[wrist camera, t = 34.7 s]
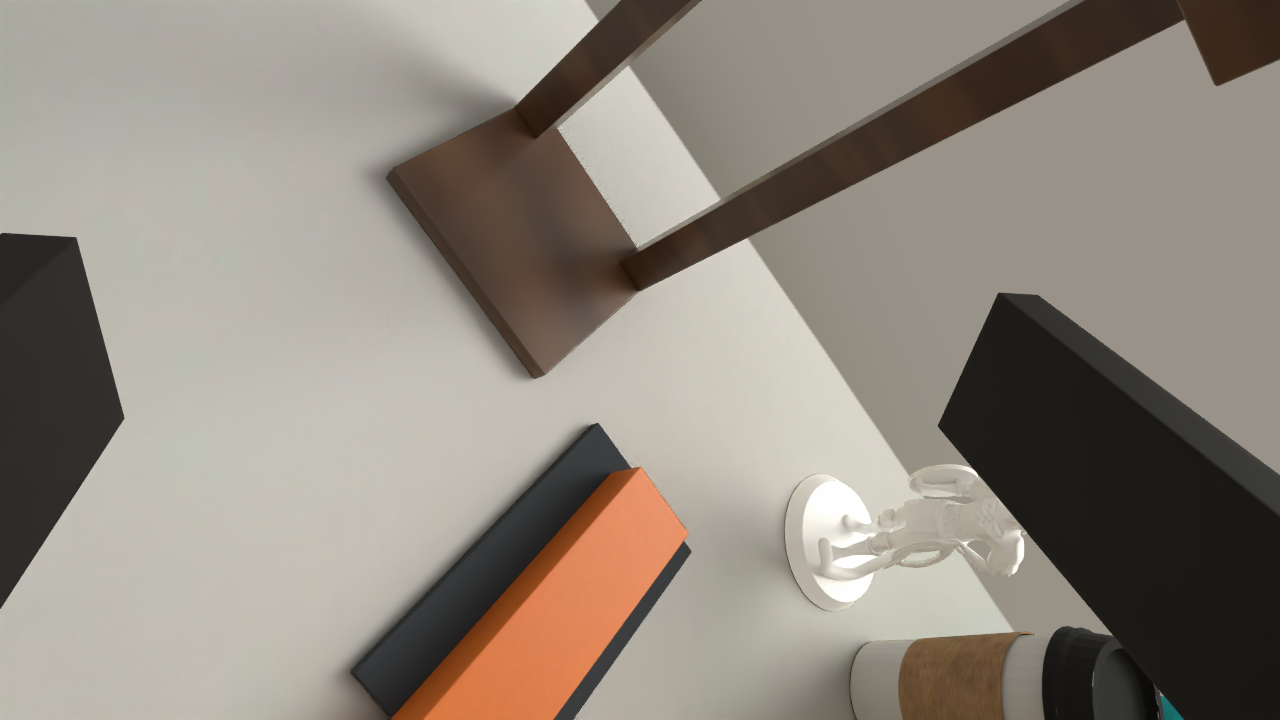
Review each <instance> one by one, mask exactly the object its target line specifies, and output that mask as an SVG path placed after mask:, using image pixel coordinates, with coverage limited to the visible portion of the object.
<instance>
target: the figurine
mask: <svg viewBox="0 0 1280 720" xmlns="http://www.w3.org/2000/svg"><path fill="white" fill-rule="evenodd" d="M909 487H910V489H911V490H912V491H914V492H916V493H918V494H920V495H925V496H931V497H946V496H954V495H956V496H957V497H963V496H968V497H971V498H973V500H974V502H972V503H969V504H959V503H957V502H954V501H949V500H936V499H935V500H934V499H917V500H910V501H907V502H905V503H904V505H903V506H902V507H901V508H899V509H898V510H897V511H895V510H894V509H889V510H885V511H883V512H882V513H881V514H880V515H879V516H878V518H877V519H876V520H875V521H873V522H871V519H870V516H869V514H868V512H867V509H866V507H865V506H864V504H863V502H862V501H861V499H860V498H859V497H858V495H857V494H856V493H855V492H854V491H853V490H852V489H851V488H850V487H848V486H847V485H845V484H843V483H842V482H840V481H838V480H837V479H835V478H833V477H831V476H828V475H824V474H816V475H812V476H810V477H807V478H806V479H805V480H803V481H802V482H801V483H800V484H799V485H798V487H797V488H796V489H795V491H794V493H793V495H792V497H791V499H790V501H789V505H788V509H787V512H786V520H785V543H786V550H787V556H788V560H789V563H790V567H791V570H792V572H793V574H794V577H795V579H796V581H797V583H798V585H799V586H800V588H801V590H802V591H803V593H804V594H805V595H806V596H807V597H808V598H809V600H810V601H811V602H813V603H814V604H815V605H817V606H818V607H819V608H822V609H824V610H827V611H834V612H837V611H841V610H845V609H846V608H848V607H850V606H851V605H852V604H853V603H855V602H856V601H857V600H858V599H859V598H860V597H861V596H862V595H863V594H864V592H865V591H866V590H867V588H868V586H869V585H870V583H871V580H872V577H873V574H874V572H875V571H877V570H878V569H880V568H882V567H883V569H886V568H889V567H891V566H893V565H895V564H896V565H899V566H903V567H913V568H919V567H926V566H929V565H932V564H935V563H938V562H940V561H942V560H944V559H945V558H947V557H948V556H949V555H950V554H951V553H952V552H953V550H954V548H956V550H957V551H958V552H959V553H960V554H962V555H963V556H964V557H966V558H968V559H969V560H970V562H971V563H972V564H973V565H974V566H975V567H976V568H977V569H978V570H980V571H981V572H983V573H985V574H987V575H991V576H998V575H1000V574H1001V573H1003V576H1005V577H1009V576H1010V575H1012V574H1014V573H1015V572H1016V571H1017V569H1018V566H1019V563H1020V562H1021V561H1022V560H1023V557H1024V540H1023V538H1022V537H1021V536H1020V533H1021V531H1022V532H1024V533H1023V534H1022V535H1026V534H1028V533H1027V532H1026V531H1025V530H1024V529H1023V527H1022V526H1021V525H1020V524H1019V523H1018V521H1017V520H1016V519H1015V518H1014V517H1013V515H1012V514H1011V513H1010V512H1009V511H1008V509H1007V508H1006V507H1005V506H1004V505H1003V504H1002V502H1001V501H1000V500H999V499H998V498H997V496H996V495H995V494H994V493H993V492H992V490H991V489H990V488H989V487H988V486H987V484H986V483H985V482H984V481H983V480H982V479H981V478H978V476H977V473H976V472H975V471H974V470H973V469H971V468H968V467H966V466H962V465H954V464H942V465H934V466H929V467H926V468H923V469H920V470H918V471H916V472H914V473H913V474H912V475H911V476H910V478H909ZM899 525H901V526H906V527H905V528H903V529H900V530H897V531H895V532H892V531H893V530H894V528H895V527H897V526H899ZM880 532H882V533H880ZM889 532H892V533H889ZM875 533H879V534H877V535H876V536H875V535H874V534H875ZM972 540H980V541H983V542H985V543H986V544H988V545H989V546H990V547H991V551H990V553H989V556H988V558H987V562H986V561H985V560H984V559H983V558H982V557H980V556H979V555H978V554H977V553H976V552H974V551H973V550H972V549H970V548H969V547H968V546H966V545H967V544H968V542H969V541H972ZM892 548H894V549H892ZM890 549H892V550H890ZM883 550H890V551H888V552H886V553H883ZM938 550H939V551H940V552H939V553H938V554H937V555H936V556H935V557H933V558H930V559H927V560H924V561H905V560H903V559H904V558H906V557H907V556H908V555H910V554H912V553H921V552H930V551H938ZM882 553H883V554H882ZM876 556H877V557H876Z"/></svg>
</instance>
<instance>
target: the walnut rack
mask: <svg viewBox="0 0 1280 720" xmlns="http://www.w3.org/2000/svg"><path fill="white" fill-rule="evenodd" d="M700 1H702V0H621V1H620V2H619V3H618V4H617V5H616V6H615V7H614V8H613V9H612V10H611V11H610V12H609V13H608V14H607V15H606V16H605V17H604V18H603V19H602V20H601V21H600V22H599V23H598V24H597V25H596V26H595V27H594V28H593V29H592V30H591V31H590V32H589V33H588V34H587V35H586V36H585V37H584V38H583V39H582V40H581V41H580V42H579V43H578V44H577V45H576V46H575V47H574V48H573V49H572V50H571V51H570V52H569V53H568V54H567V55H566V56H565V57H564V58H563V59H562V60H561V61H560V62H559V63H558V64H557V65H556V66H555V67H554V68H553V69H552V70H551V71H550V72H549V73H548V74H547V75H546V76H545V77H544V78H543V79H542V80H541V81H540V82H539V83H538V84H537V85H536V86H535V87H534V88H533V89H532V90H531V91H530V92H529V93H528V94H527V95H526V96H525V97H524V98H523V99H522V100H521V101H520V102H519V103H518V104H517V105H516V106H515V107H514V108H512V109H510V110H508V111H506V112H504V113H502V114H500V115H498V116H496V117H494V118H492V119H490V120H488V121H486V122H484V123H482V124H480V125H478V126H476V127H474V128H472V129H470V130H468V131H466V132H464V133H462V134H460V135H458V136H456V137H454V138H452V139H450V140H448V141H446V142H444V143H442V144H440V145H438V146H436V147H434V148H432V149H430V150H428V151H426V152H424V153H422V154H420V155H418V156H416V157H414V158H412V159H410V160H408V161H406V162H404V163H402V164H399V165H397V166H395V167H393V168H392V170H391V171H390V172H389V173H388V174H387V176H386V178H387V179H388V181H389V182H390V183H391V185H392V186H393V188H394V189H395V190H396V192H397V193H398V194H399V196H400V197H401V198H402V200H403V201H404V202H405V204H406V205H407V207H408V208H409V209H410V211H411V212H412V213H413V215H414V216H415V217H416V219H417V220H418V221H419V223H420V224H421V226H422V227H423V228H424V230H425V231H426V232H427V234H428V235H429V236H430V238H431V239H432V240H433V242H434V243H435V245H436V246H437V247H438V249H439V250H440V251H441V253H442V254H443V255H444V257H445V258H446V259H447V261H448V262H449V264H450V265H451V266H452V268H453V269H454V270H455V272H456V273H457V274H458V276H459V277H460V278H461V280H462V281H463V282H464V284H465V285H466V287H467V288H468V289H469V291H470V292H471V293H472V295H473V296H474V297H475V299H476V300H477V301H478V303H479V304H480V306H481V307H482V308H483V310H484V311H485V312H486V314H487V315H488V316H489V318H490V319H491V320H492V322H493V323H494V325H495V326H496V327H497V329H498V330H499V331H500V333H501V334H502V335H503V337H504V338H505V339H506V341H507V342H508V344H509V345H510V346H511V348H512V349H513V350H514V352H515V353H516V354H517V356H518V357H519V358H520V360H521V361H522V363H523V364H524V365H525V367H526V368H527V369H528V371H529V372H530V373H531V375H532V376H533V377H534V378H535V379H537V378H539V377H541V376H544V375H545V374H547V373H548V372H549V371H550V370H551V369H552V368H553V367H554V366H556V365H557V364H558V363H559V362H560V361H561V360H562V359H563V358H565V357H566V356H567V355H568V354H569V353H570V352H571V351H573V350H574V349H575V348H576V347H577V346H578V345H579V344H580V343H582V342H583V341H584V340H585V339H586V338H587V337H588V336H589V335H591V334H592V333H593V332H594V331H595V330H596V329H597V328H598V327H600V326H601V325H602V324H603V323H604V322H605V321H606V320H608V319H609V318H610V317H611V316H612V315H613V314H614V313H615V312H617V311H618V310H619V309H620V308H621V307H622V306H623V305H624V304H626V303H627V302H628V301H629V300H630V299H631V298H632V297H633V296H635V295H636V294H637V293H638V292H639V291H642V290H644V289H646V288H648V287H650V286H652V285H654V284H656V283H658V282H660V281H662V280H664V279H666V278H668V277H670V276H672V275H674V274H676V273H678V272H680V271H682V270H684V269H686V268H688V267H690V266H692V265H694V264H696V263H698V262H700V261H702V260H704V259H706V258H708V257H710V256H712V255H714V254H716V253H718V252H720V251H722V250H724V249H726V248H728V247H730V246H732V245H734V244H736V243H738V242H740V241H742V240H744V239H746V238H748V237H750V236H752V235H754V234H756V233H758V232H760V231H762V230H764V229H766V228H768V227H770V226H772V225H774V224H775V223H778V222H780V221H782V220H784V219H786V218H788V217H790V216H792V215H794V214H796V213H798V212H800V211H802V210H804V209H806V208H808V207H810V206H812V205H814V204H816V203H818V202H820V201H822V200H824V199H826V198H828V197H830V196H832V195H834V194H836V193H838V192H840V191H842V190H844V189H846V188H848V187H850V186H852V185H854V184H856V183H858V182H860V181H862V180H864V179H866V178H868V177H870V176H872V175H874V174H876V173H878V172H880V171H882V170H884V169H886V168H888V167H890V166H892V165H894V164H896V163H898V162H900V161H902V160H904V159H906V158H908V157H910V156H912V155H914V154H916V153H918V152H920V151H922V150H924V149H926V148H928V147H930V146H932V145H934V144H936V143H938V142H940V141H942V140H944V139H946V138H948V137H950V136H952V135H954V134H956V133H958V132H960V131H962V130H964V129H966V128H968V127H970V126H972V125H974V124H976V123H978V122H981V121H982V120H985V119H986V118H988V117H991V116H993V115H994V114H996V113H999V112H1000V111H1003V110H1004V109H1007V108H1009V107H1010V106H1013V105H1014V104H1017V103H1019V102H1020V101H1023V100H1025V99H1027V98H1029V97H1031V96H1033V95H1035V94H1037V93H1038V92H1041V91H1043V90H1045V89H1046V88H1049V87H1051V86H1053V85H1055V84H1057V83H1059V82H1060V81H1063V80H1065V79H1066V78H1069V77H1071V76H1073V75H1075V74H1077V73H1079V72H1081V71H1083V70H1085V69H1087V68H1089V67H1091V66H1093V65H1095V64H1097V63H1099V62H1101V61H1103V60H1105V59H1107V58H1109V57H1111V56H1113V55H1115V54H1117V53H1119V52H1121V51H1123V50H1125V49H1127V48H1129V47H1131V46H1133V45H1135V44H1137V43H1139V42H1141V41H1143V40H1145V39H1147V38H1149V37H1151V36H1153V35H1155V34H1157V33H1159V32H1161V31H1163V30H1165V29H1167V28H1169V27H1171V26H1173V25H1175V24H1177V23H1179V22H1181V21H1183V20H1185V21H1186V23H1187V25H1188V27H1189V30H1190V32H1191V34H1192V36H1193V38H1194V41H1195V43H1196V45H1197V47H1198V49H1199V52H1200V54H1201V56H1202V58H1203V61H1204V63H1205V65H1206V67H1207V70H1208V72H1209V74H1210V76H1211V78H1212V81H1213V83H1214V85H1216V86H1219V85H1222V84H1224V83H1227V82H1229V81H1231V80H1234V79H1236V78H1238V77H1241V76H1243V75H1245V74H1248V73H1250V72H1252V71H1255V70H1257V69H1259V68H1262V67H1264V66H1266V65H1269V64H1271V63H1273V62H1275V61H1278V60H1280V0H1070V1H1068V2H1066V3H1065V4H1063V5H1061V6H1060V7H1058V8H1056V9H1054V10H1052V11H1051V12H1049V13H1047V14H1046V15H1044V16H1042V17H1040V18H1038V19H1037V20H1035V21H1033V22H1031V23H1030V24H1028V25H1026V26H1024V27H1023V28H1021V29H1019V30H1017V31H1016V32H1014V33H1012V34H1010V35H1009V36H1007V37H1005V38H1003V39H1002V40H1000V41H998V42H997V43H995V44H993V45H991V46H989V47H988V48H986V49H985V50H982V51H981V52H979V53H977V54H976V55H974V56H972V57H970V58H968V59H967V60H965V61H963V62H961V63H960V64H958V65H956V66H954V67H953V68H951V69H949V70H947V71H946V72H944V73H942V74H940V75H939V76H937V77H935V78H933V79H932V80H930V81H928V82H926V83H925V84H923V85H921V86H919V87H918V88H916V89H914V90H912V91H911V92H909V93H908V94H906V95H904V96H902V97H900V98H899V99H897V100H895V101H893V102H892V103H890V104H888V105H887V106H885V107H883V108H881V109H879V110H877V111H876V112H874V113H872V114H870V115H869V116H867V117H865V118H863V119H862V120H860V121H859V122H857V123H855V124H853V125H851V126H850V127H848V128H846V129H845V130H843V131H841V132H839V133H837V134H836V135H834V136H832V137H830V138H829V139H827V140H825V141H823V142H822V143H820V144H818V145H816V146H814V147H813V148H811V149H810V150H808V151H806V152H804V153H802V154H801V155H799V156H797V157H795V158H794V159H792V160H790V161H788V162H787V163H785V164H783V165H781V166H780V167H778V168H776V169H774V170H773V171H771V172H769V173H767V174H766V175H764V176H762V177H760V178H759V179H757V180H755V181H753V182H752V183H750V184H748V185H746V186H745V187H743V188H741V189H739V190H738V191H736V192H734V193H732V194H731V195H729V196H727V197H726V198H724V199H722V200H720V201H718V202H717V203H715V204H713V205H711V206H710V207H708V208H706V209H704V210H703V211H701V212H699V213H697V214H696V215H694V216H692V217H690V218H689V219H687V220H685V221H683V222H682V223H680V224H678V225H676V226H675V227H673V228H671V229H669V230H668V231H666V232H664V233H662V234H661V235H659V236H657V237H655V238H654V239H652V240H650V241H648V242H647V243H645V244H643V245H641V246H640V247H638V248H637V247H636V246H635V244H634V243H633V241H632V240H631V238H630V237H629V235H628V234H627V232H626V231H625V229H624V228H623V226H622V225H621V223H620V222H619V220H618V219H617V217H616V216H615V214H614V213H613V211H612V210H611V208H610V207H609V205H608V204H607V202H606V201H605V199H604V198H603V196H602V195H601V194H600V192H599V191H598V189H597V188H596V186H595V185H594V183H593V182H592V180H591V179H590V177H589V176H588V174H587V173H586V171H585V170H584V168H583V167H582V165H581V164H580V162H579V161H578V159H577V158H576V156H575V155H574V153H573V152H572V150H571V149H570V147H569V146H568V144H567V143H566V141H565V140H564V138H563V137H562V135H561V134H560V132H559V131H558V129H557V127H559V126H560V125H561V124H562V123H563V122H564V121H566V120H567V119H568V118H569V117H570V116H571V115H572V114H574V113H575V112H576V111H577V110H578V109H579V108H580V107H581V106H583V105H584V104H585V103H586V102H587V101H588V100H589V99H591V98H592V97H593V96H594V95H595V94H596V93H597V92H598V91H600V90H601V89H602V88H603V87H604V86H605V85H606V84H608V83H609V82H610V81H611V80H612V79H613V78H614V77H615V76H617V75H618V74H619V73H620V72H621V71H622V70H623V69H625V68H626V67H627V66H628V65H629V64H630V63H631V62H632V61H634V60H635V59H636V58H637V57H638V56H639V55H640V54H642V53H643V52H644V51H645V50H646V49H647V48H648V47H649V46H651V45H652V44H653V43H654V42H655V41H656V40H657V39H659V38H660V37H661V36H662V35H663V34H664V33H665V32H666V31H668V30H669V29H670V28H671V27H672V26H673V25H674V24H675V23H677V22H678V21H679V20H680V19H681V18H682V17H683V16H684V15H686V14H687V13H688V12H689V11H690V10H691V9H693V7H695V6H696V5H697V4H698V3H699V2H700Z"/></svg>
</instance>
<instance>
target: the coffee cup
mask: <svg viewBox="0 0 1280 720" xmlns="http://www.w3.org/2000/svg"><path fill="white" fill-rule="evenodd" d="M850 691H851V700H852V705H853V709H854V712H855V715H856V718H857V720H1164V712H1163V706H1162V701H1161V696H1160V692H1159V689H1158V688H1157V687H1156V686H1155V685H1154V683H1153V682H1152V681H1151V680H1150V679H1149V677H1148V676H1147V675H1146V674H1145V673H1144V671H1143V670H1142V669H1141V668H1140V667H1139V666H1138V664H1137V663H1136V662H1135V661H1134V660H1133V658H1132V657H1131V656H1130V655H1129V654H1128V652H1127V651H1126V650H1125V649H1124V648H1123V646H1122V645H1121V644H1120V643H1119V642H1118V641H1117V639H1116V638H1115V637H1114V636H1110V635H1103V634H1096V633H1093V632H1091V631H1090V630H1087V629H1084V628H1072V627H1070V626H1065V627H1061V628H1060V629H1058V630H1056V632H1055V633H1054V634H1048V635H1035V634H1033V633H1030V632H1012V633H997V634H982V635H968V636H953V637H938V638H924V639H915V640H888V641H874V642H870V643H867V644H866V645H864V646H863V647H862V648H861V649H860V651H859V652H858V654H857V656H856V658H855V660H854V663H853V667H852V671H851V679H850Z"/></svg>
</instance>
